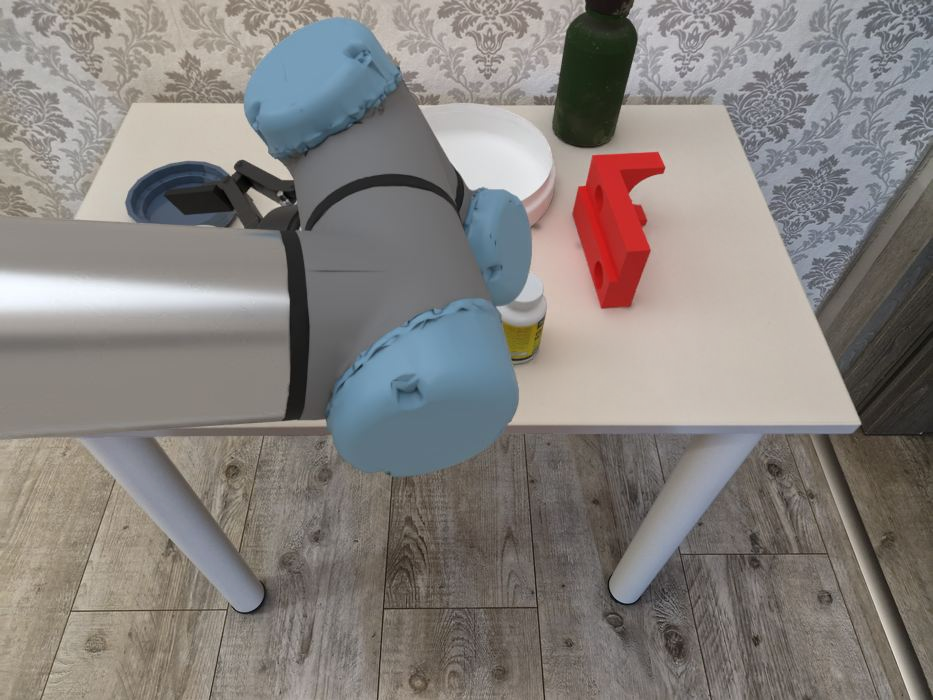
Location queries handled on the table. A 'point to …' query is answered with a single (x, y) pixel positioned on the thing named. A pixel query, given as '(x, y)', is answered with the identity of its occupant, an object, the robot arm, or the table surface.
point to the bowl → (149, 190)
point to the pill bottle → (525, 320)
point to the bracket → (615, 223)
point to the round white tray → (496, 152)
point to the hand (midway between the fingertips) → (140, 260)
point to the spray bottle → (594, 72)
